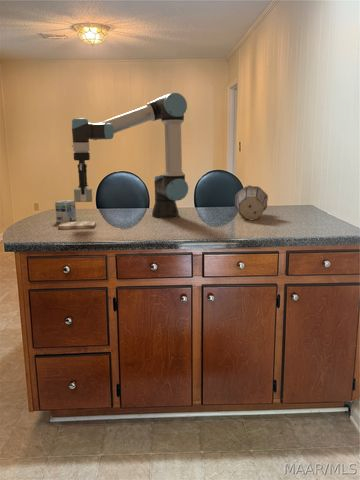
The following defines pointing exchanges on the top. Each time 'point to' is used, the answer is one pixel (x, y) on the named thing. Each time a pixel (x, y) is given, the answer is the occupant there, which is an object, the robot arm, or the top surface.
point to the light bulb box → (65, 211)
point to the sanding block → (88, 195)
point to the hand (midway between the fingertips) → (84, 200)
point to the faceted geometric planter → (251, 202)
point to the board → (77, 225)
